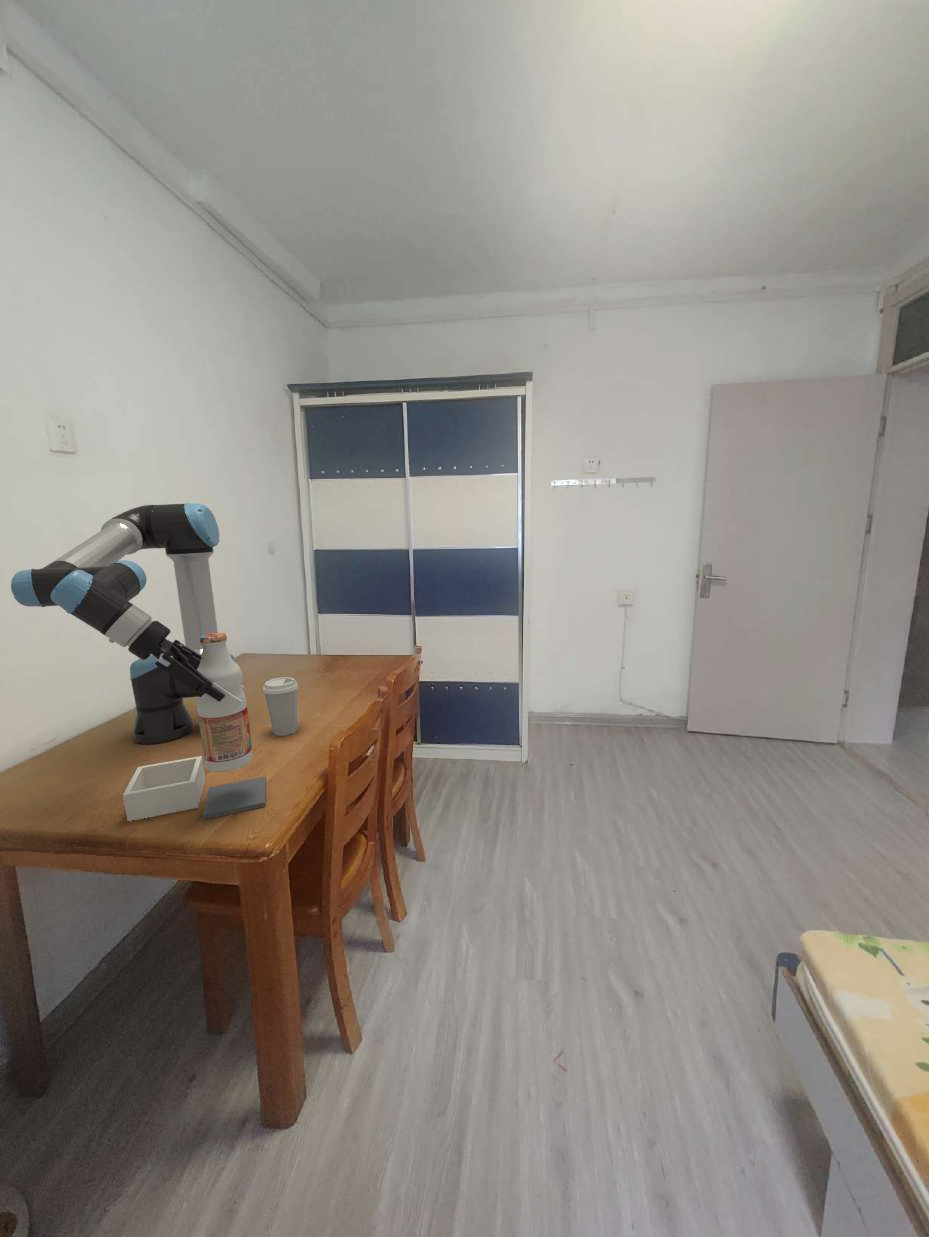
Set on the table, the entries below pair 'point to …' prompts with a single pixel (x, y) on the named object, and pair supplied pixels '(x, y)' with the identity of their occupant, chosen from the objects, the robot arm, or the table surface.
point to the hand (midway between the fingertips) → (238, 698)
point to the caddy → (164, 788)
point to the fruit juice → (223, 709)
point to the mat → (235, 797)
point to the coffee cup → (282, 705)
